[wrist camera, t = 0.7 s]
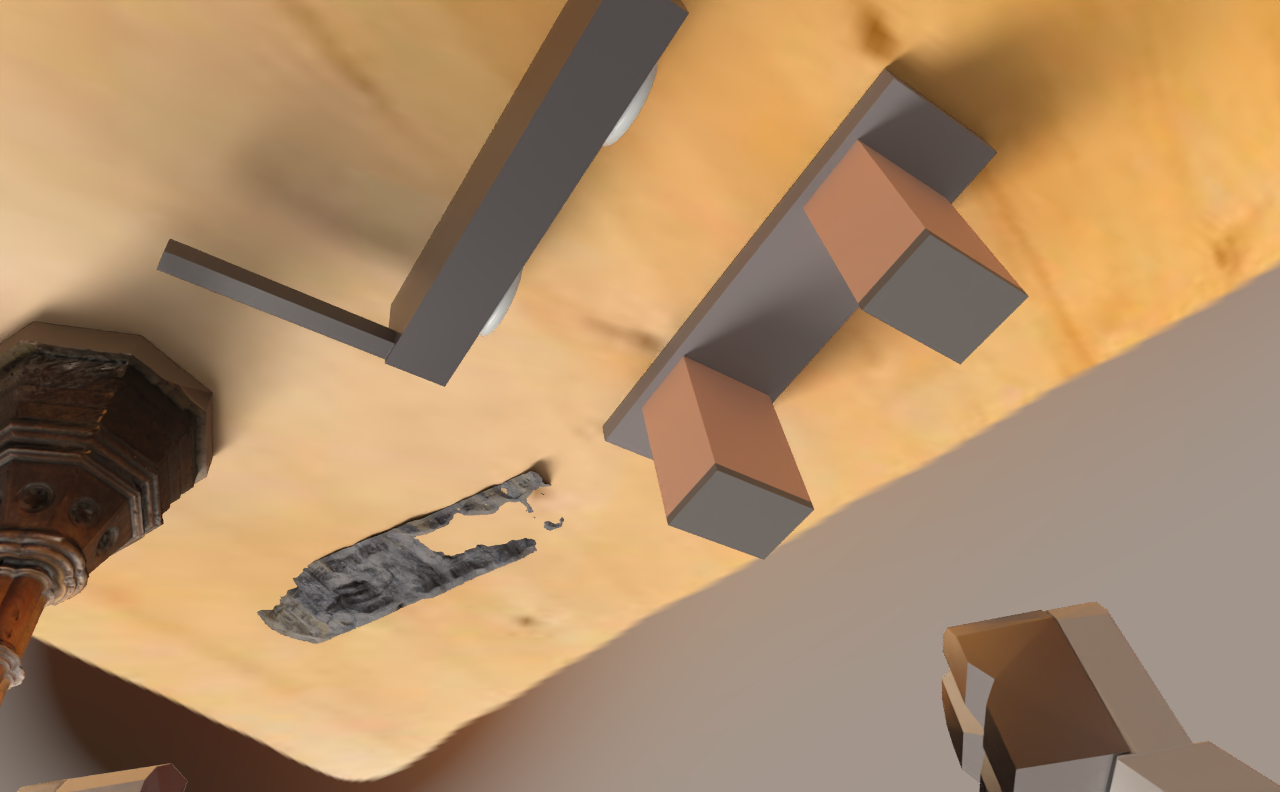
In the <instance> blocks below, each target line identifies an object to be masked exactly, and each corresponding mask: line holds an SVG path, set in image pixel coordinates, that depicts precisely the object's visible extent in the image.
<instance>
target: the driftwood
mask: <svg viewBox="0 0 1280 792" xmlns="http://www.w3.org/2000/svg"><path fill="white" fill-rule="evenodd" d="M546 486H551V485H549V484H544V483H543V482H542V478H541V477H540V476H539V474H537V473H536V472H533V471H530V472H528V473H526V474H524V473H523V474H522V475H520V476H518V477H515V478H513V479H511V480H509V481H507V482H504V483H503V484H502V485H498V486H495V487H493V488H491V489H488V490H486V491H484V492H481V493H479V494H476V495H474V496H473V497H470V498H468V499H465V500H462V501H460V502H458V503H455V504H454V505H452V506H448V507H447V508H445V509H443V510H440V511H438V512H436V513H433V514H431V515H428V516H427V517H425V518H422V519H420V520H414V521H412V522H408V523H406V524H404V525H403V526H400V527H398V528H393V529H392V530H390V531H388V532H386V533H383V534H380V535H378V536H374V537H372V538H370V539H366V540H364V541H362V542H360V543H357V544H355V545H354V546H352V547H348V548H345V549H342V550H341V551H338V552H336V553H333V554H331V555H330V556H327V557H324V558H322V559H320V560H318V561H314V562H313V563H311V564H309V565H308V568H304V569H303V572H302V573H301V574H300V575H299V576H298V577H297V578H293V580H294V582H295V584H296V585H297V588H294V589H291V590H288V592H287V594H286V596H284V597H281V599H280V605H277V606H275V607H274V609H273V610H260V611H258V612H257V613H258V615H260V617H261V618H262V620H263V621H264V622H265V624H267V625H268V627H270V628H271V629H272V630H275V631H277V632H278V633H280V634H283V635H285V636H289V637H290V638H294V639H298V640H302V641H308V642H311V643H321V642H324V641H326V640H328V639H331V638H333V637H335V636H337V635H340V634H343V633H345V632H348V631H351V630H352V629H355V628H356V627H360V626H362V625H365V624H368V623H370V622H372V621H375V620H377V619H379V618H381V617H384V616H386V615H388V614H390V613H392V612H395V611H397V610H399V609H400V608H402V607H404V606H407V605H409V604H412V603H415V602H417V601H419V600H421V599H426V598H433V597H436V596H438V595H440V594H442V593H445V592H446V591H448V590H451V589H452V588H454V587H456V586H458V585H461V584H463V583H464V582H466V581H468V580H472V579H473V578H475V577H477V576H480V575H483V574H486V573H488V572H490V571H492V570H494V569H496V568H499V567H502V566H505V565H507V564H509V563H512V562H515V561H517V560H519V559H521V558H524V557H525V556H527V555H529V554H530V553H533V552H534V551H537V549H536V548H535V545H536V542H535V540H533V539H527V538H524V539H521V540H511V541H509V542H508V543H507V544H502V545H495V546H489V547H487V546H485V545H477V546H476V548H472V549H469V550H466V551H465V553H461V554H456V555H454V556H451V557H450V556H448V555H444V553H443V552H435V551H432V550H430V549H429V548H428V547H426V546H425V545H424V544H422V543H420V541H419V540H418V539H413V538H414V537H416V536H419V535H424V534H428V533H430V532H433V531H435V530H436V529H439V528H441V527H444V526H446V525H448V524H449V521H450V520H452V518H453V515H454V514H456V513H461V514H463V515H487V514H493V513H495V512H496V511H497V510H498V509H499V507H500V506H501V505H503V504H504V503H506V502H518V501H519V502H521V503H523V504H524V505H525V506H526V507H527V510H528V513H531V512H533V510H532V508H531V506H530V505H529V504H528V503H527V500H526V498H527V497H528V496H529V495H530V494H531V493H532V491H533V490H536V489H538V488H539V487H546ZM501 487H502V488H506V489H507V492H508V493H507V494H504V493H503V492H501ZM541 494H542V493H541ZM543 495H544V494H543ZM485 504H487V505H485ZM458 508H459V509H460V510H457V509H458ZM527 510H526V511H527ZM534 518H535V517H534ZM563 521H564V519H563V518H561V519H560V522H561V523H557V524H553V523H551V522H550V521H546V522H545V523H544V524H545V525H544V528H546V529H547V530H550V531H551V530H553V529H555V528H559V527H561V526H562V522H563ZM411 541H412V542H411Z"/></svg>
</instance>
